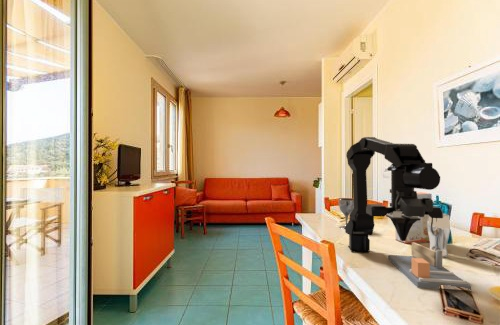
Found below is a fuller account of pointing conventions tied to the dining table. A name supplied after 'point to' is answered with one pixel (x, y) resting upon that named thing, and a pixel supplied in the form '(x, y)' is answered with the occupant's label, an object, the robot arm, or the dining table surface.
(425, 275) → the fader
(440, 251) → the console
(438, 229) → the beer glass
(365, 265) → the dining table surface
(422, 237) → the cracker box
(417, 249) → the two-tone tan block
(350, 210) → the wine glass
